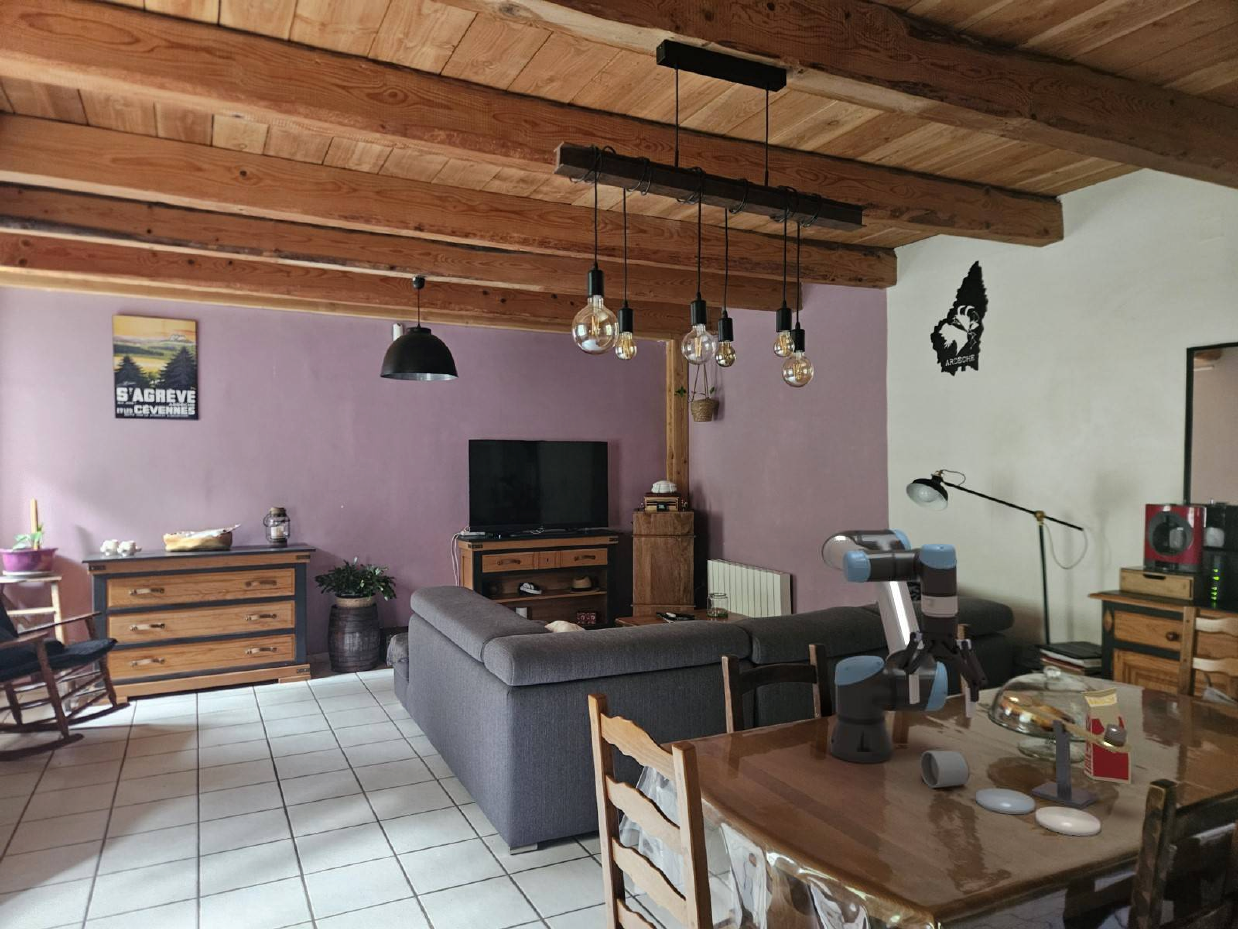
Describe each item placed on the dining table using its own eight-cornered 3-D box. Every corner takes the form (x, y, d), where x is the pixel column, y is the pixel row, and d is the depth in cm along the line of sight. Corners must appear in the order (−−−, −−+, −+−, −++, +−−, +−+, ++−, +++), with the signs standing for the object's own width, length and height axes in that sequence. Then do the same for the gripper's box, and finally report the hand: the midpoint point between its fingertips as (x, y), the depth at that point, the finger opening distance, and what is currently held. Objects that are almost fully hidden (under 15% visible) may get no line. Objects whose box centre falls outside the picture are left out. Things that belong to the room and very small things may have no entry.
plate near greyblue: (965, 802, 168) (965, 797, 168) (993, 789, 174) (993, 784, 174) (1017, 819, 159) (1017, 814, 159) (1044, 805, 165) (1044, 800, 165)
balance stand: (1031, 794, 171) (1028, 717, 171) (1049, 785, 176) (1046, 710, 176) (1080, 809, 163) (1077, 728, 163) (1098, 799, 168) (1095, 720, 168)
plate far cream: (1025, 822, 157) (1025, 816, 158) (1052, 807, 164) (1052, 802, 164) (1084, 841, 149) (1084, 835, 149) (1110, 825, 155) (1110, 819, 155)
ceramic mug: (973, 789, 174) (971, 753, 175) (939, 793, 173) (938, 757, 173) (943, 773, 185) (942, 739, 185) (911, 776, 183) (910, 742, 183)
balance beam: (996, 700, 178) (1000, 681, 177) (1009, 695, 182) (1014, 676, 181) (1120, 760, 158) (1126, 739, 157) (1133, 753, 161) (1139, 733, 160)
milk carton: (1126, 771, 183) (1123, 683, 184) (1133, 785, 175) (1130, 693, 175) (1081, 765, 187) (1078, 680, 188) (1085, 779, 179) (1082, 689, 179)
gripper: (881, 609, 186) (883, 700, 186) (984, 623, 166) (987, 726, 166) (899, 605, 191) (902, 694, 190) (1003, 619, 171) (1005, 718, 170)
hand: (942, 709), depth 178 cm, fingers open, 13 cm apart
